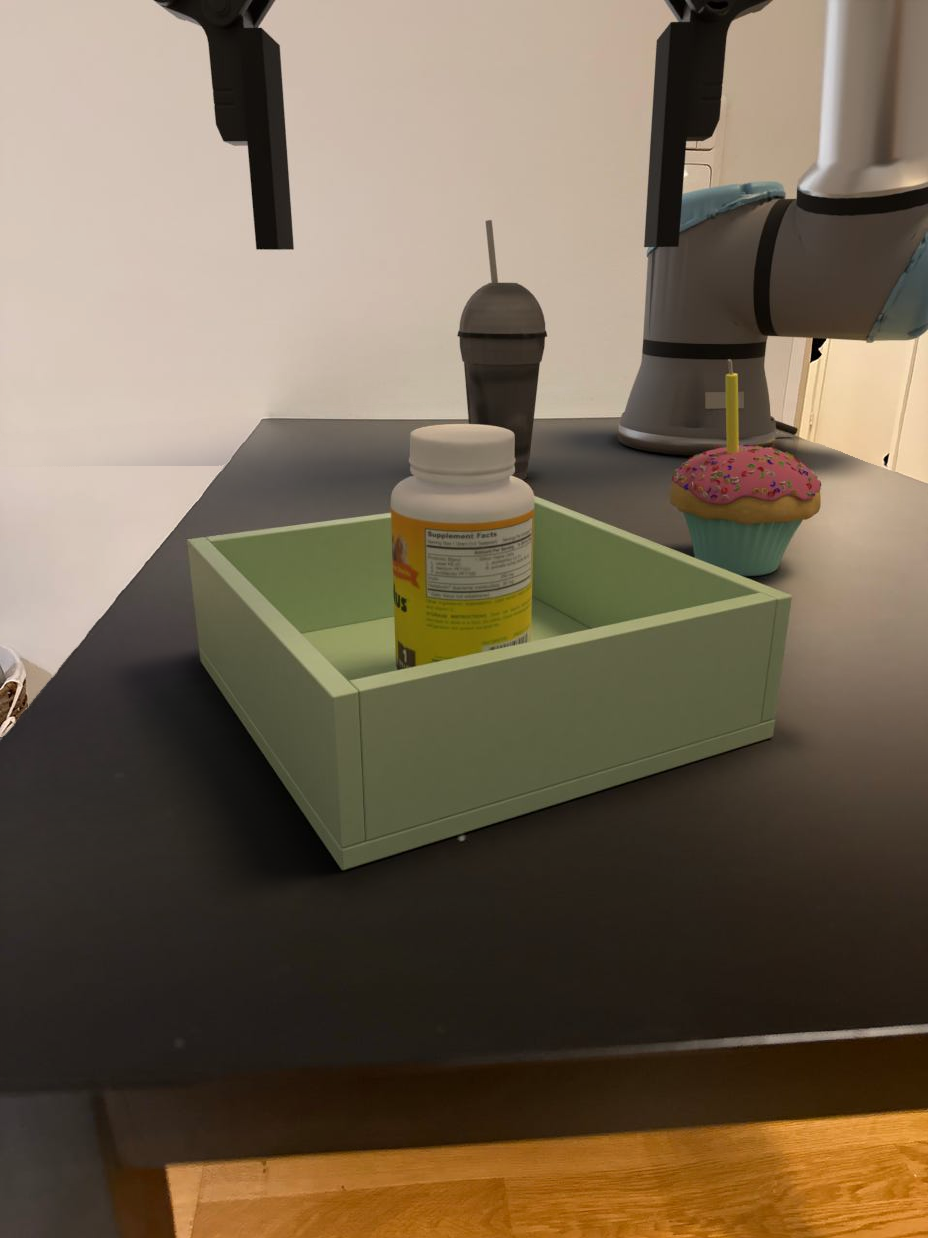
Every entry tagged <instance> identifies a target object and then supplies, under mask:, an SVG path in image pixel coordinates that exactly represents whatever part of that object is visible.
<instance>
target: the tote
mask: <svg viewBox="0 0 928 1238" xmlns="http://www.w3.org/2000/svg"><path fill="white" fill-rule="evenodd" d="M186 545H187V553H188V554H187V555H188V563H189V571H190V572H189V573H190V582H191V589H192V590H191V591H192V598H193V608H194V617H195V625H196V635H197V645H198V646H199V647H198V652H199V661H200V662H201V664H202V666H203V667H204V669H205V670H206V672H207V673H208V675H209V676H210V677H211V679H212V681H213V682H214V684H215V685H216V686H217V688H218V689H219V691H220V692H221V694H222V696H223V697H224V698H225V700H226V702H227V703H228V704H229V706H230V707H231V708H232V711H234V713H235V715H236V716H237V717H238V719H239V721H240V722H241V723H242V725H243V726H244V728H245V729H246V731H247V732H248V734H249V735H250V736H251V738H252V740H253V742H254V743H255V744H256V746H257V747H258V749H259V750H260V752H261V753H262V754H263V756H264V757H265V759H266V761H267V762H268V763H269V765H270V766H271V768H272V769H273V771H274V772H275V773H276V775H277V777H278V778H279V780H280V781H281V782H282V784H283V785H284V787H285V788H286V790H287V791H288V793H289V794H290V796H291V797H292V799H293V800H294V801H295V803H296V805H297V806H298V808H299V809H300V811H301V812H302V813H303V815H304V816H305V818H306V820H307V821H308V823H309V824H310V825H311V827H312V828H313V830H314V831H315V833H316V834H317V835H318V837H319V838H320V840H321V841H322V843H323V845H324V846H325V848H326V849H327V850H328V852H329V854H331V856H332V858H333V859H334V861H335V862H336V864H337V865H338V867H339V869H340V870H342V871H346V870H350V869H353V868H356V867H359V866H362V865H365V864H369V863H372V862H376V861H378V860H379V861H380V860H381V859H385V858H389V857H391V856H395V855H398V854H402V853H404V852H408V851H411V850H414V849H417V848H420V847H423V846H426V845H430V844H433V843H436V842H440V841H443V840H446V839H449V838H453V837H456V836H460V835H462V834H465V833H469V832H472V831H475V830H478V829H481V828H484V827H488V826H491V825H495V824H498V823H501V822H504V821H507V820H511V819H513V818H517V817H520V816H523V815H526V814H529V813H534V812H537V811H539V810H543V809H546V808H549V807H552V806H553V807H554V806H555V805H559V804H562V803H566V802H569V801H572V800H575V799H577V798H581V797H585V796H588V795H591V794H594V793H597V792H601V791H604V790H608V789H611V788H613V787H617V786H619V785H623V784H626V783H630V782H633V781H637V780H639V779H642V778H645V777H646V778H647V777H649V776H652V775H655V774H659V773H662V772H665V771H668V770H672V769H676V768H678V767H682V766H685V765H688V764H691V763H694V762H697V761H700V760H703V759H707V758H710V757H714V756H717V755H720V754H723V753H726V752H730V751H732V750H736V749H739V748H743V747H745V746H748V745H752V744H755V743H758V742H762V741H765V740H768V739H772V738H773V737H774V732H775V725H776V719H775V718H776V717H777V716H776V715H777V709H778V702H779V694H780V688H781V687H780V686H781V682H782V681H781V680H782V672H783V665H784V660H785V659H784V658H785V650H786V644H787V636H788V629H789V621H790V615H791V613H790V612H791V608H792V600H793V599H792V598H793V596H792V594H789V593H786V592H784V591H783V590H782V591H781V590H779V589H776V588H773V587H771V586H769V585H766V584H764V583H761V582H758V581H755V580H753V579H751V578H748V577H746V576H740V575H738V574H735V573H732V572H730V571H727V570H725V569H722V568H720V567H717V566H714V565H712V564H709V563H707V562H704V561H701V560H699V559H696V558H695V556H691V555H689V554H686V553H683V552H681V551H679V550H675V549H673V548H670V547H667V546H665V545H662V544H659V543H657V542H655V541H652V540H650V539H648V538H645V537H642V536H639V535H637V534H634V533H632V532H629V531H627V530H624V529H622V528H619V527H616V526H615V525H610V524H608V523H606V522H604V521H600V520H598V519H595V518H593V517H590V516H588V515H586V514H582V513H580V512H577V511H575V510H572V509H569V508H568V507H566V506H565V507H564V506H562V505H559V504H557V503H555V502H552V501H549V500H546V499H544V498H541V497H539V496H536V495H534V533H533V571H532V608H531V642H527V643H523V644H518V645H513V646H509V647H504V648H499V649H495V650H490V651H485V652H481V653H476V654H471V655H467V656H462V657H457V658H453V659H448V660H443V661H439V662H434V663H429V664H425V665H420V666H415V667H411V668H406V669H401V670H397V668H396V652H395V624H394V595H393V563H392V527H391V512H385V513H378V514H371V515H362V516H356V517H347V518H339V519H333V520H331V519H330V520H324V521H318V522H309V523H301V524H296V525H295V524H294V525H286V526H279V527H270V528H263V529H255V530H248V531H247V530H246V531H241V532H233V533H226V534H225V533H224V534H218V535H217V534H216V535H209V536H205V537H204V536H203V537H195V538H188V539H187V540H186Z"/></svg>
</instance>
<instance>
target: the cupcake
mask: <svg viewBox="0 0 928 1238" xmlns="http://www.w3.org/2000/svg"><path fill="white" fill-rule="evenodd" d="M728 365H729V374H727V375H726V377H725V378H726V436H727V447H725V448H721V447H719V446H716V447H715V449H714V450H710V451H706V452H700V453H699V454H697V455H694V456H690V457H688V460H687V461H685V462H682V463H681V465H680V466H679V467H678V468H677V469H675V470H674V472H673V475H672V477H671V484H670V489H669V502H670V504H671V505H672V506H674V507H675V508H676V509H677V511H679V512H680V513H682V515H683V516H684V519H685V522H686V525H687V528H688V532H689V536H690V540H691V546H692V549H693V555H694V558H696V559H699V560H701V561H704V562H707V563H709V564H712V565H714V566H717V567H720V568H722V569H725V570H727V571H730V572H732V573H735V574H738V575H740V576H743V577H757V576H765V575H768V574H772V573H773V572H775V571H776V570H777V569H778V568H779V566H780V564H781V561H782V558H783V556H784V554H785V552H786V550H787V548H788V546H789V544H790V542H791V540H792V539H793V537H794V535H795V533H796V531H798V528H799V527H800V525H801V524H802V523H803V521H805V520H809V519H811V518H812V517H814V516H815V515H817V514H818V513H819V512H820V510H821V505H822V499H821V498H822V497H821V489H822V481H821V480H819V479H818V475H817V474H816V471H814V470H813V469H809V468H808V467H807V466H806V465H805V464H804V463H803V462H801V461H800V460H799V459H797V457H796V456H795V455H792V454H790V453H789V452H787V451H786V452H784V451H782V450H780V449H779V448H776V447H775V446H774V447H766V448H763V447H761V446H755V447H752V446H751V445H744V444H743V445H741V446H739V440H738V374H736V373H733V370H732V361H731V360H730V359H729V360H728Z"/></svg>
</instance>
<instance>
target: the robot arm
mask: <svg viewBox="0 0 928 1238" xmlns="http://www.w3.org/2000/svg"><path fill="white" fill-rule="evenodd" d="M663 1H664V2H665V4H666V5H667V7H668V9H669V10H670V11H671V13H672V14H673V16H674V17H675V19H676V20H677V21H670V22H669V23H668V25H667V26H666V28H665V29H664V30H663V32H662V33H661V34H660V36H658V38H657V39H656V43H655V44H656V45H655V60H654V61H655V62H654V77H653V79H654V80H653V81H654V82H653V93H652V95H653V96H652V108H651V109H652V110H651V112H652V113H651V127H650V129H651V130H650V144H649V157H648V176H647V177H648V178H647V193H646V208H645V224H644V225H645V226H644V243H643V247H644V248H647V249H646V258H647V267H646V281H645V302H644V316H643V317H644V318H643V335H642V348H641V360H640V366H639V368H638V371H637V374H636V376H635V378H634V381H633V384H632V386H631V390H630V393H629V396H628V399H627V402H626V405H625V409H624V411H623V412H622V413H621V416H620V419H619V422H618V431H617V432H618V434H617V439H618V442H619V443H621V444H623V445H624V446H626V447H628V448H629V447H630V448H633V449H637V450H642V451H646V452H652V453H659V454H666V455H667V454H668V455H676V456H690V457H693V456H694V455H697V454H699V453H700V452H706V451H710V450H714V449H715V447H716V446H719V447H721V448H725V447H727V436H726V378H725V377H726V375H727V374H729V365H728V360H729V359H730V360H731V361H732V370H733V373H736V374H738V440H739V446H741V445H743V444H744V445H751V446H752V447H755V446H761V447H763V448H766V447H775V442H776V434H777V431H782V432H784V433H787V434H789V435H792V436H795V435H797V433H798V427H795V426H793V425H790V424H788V423H784V422H782V421H778V420H776V419H775V417H774V416H772V415H771V402H770V401H771V400H770V393H769V386H768V381H767V376H766V370H765V369H766V368H765V362H766V361H765V359H766V350H767V342H768V337H781V338H805V339H807V338H808V339H827V340H828V339H829V340H846V341H859V342H860V341H862V342H865V343H866V344H867V343H868V344H873V343H874V342H880V341H912V340H915V339H918V338H920V337H921V336H923V335H924V334H925V333H926V332H927V331H928V0H824V17H823V19H824V21H823V37H822V39H823V40H822V41H823V42H822V60H821V80H820V81H821V83H820V103H819V121H818V123H819V125H818V144H817V157H816V158H815V160H814V162H813V163H812V164H811V165H810V166H809V167H808V168H807V169H806V171H804V173H803V174H802V175H801V176H800V177H799V178H798V180H797V183H796V198H786V196H787V193H786V191H785V187H784V185H783V183H781V182H778V181H772V180H771V181H770V180H769V181H750V182H747V183H746V182H745V183H732V184H725V185H717V186H712V187H707V188H701V189H697V190H692V191H688V192H684V179H685V165H686V154H687V153H686V151H687V142H704V141H706V140H708V139H710V138H712V137H713V136H714V133H715V131H716V128H717V126H718V124H719V121H720V120H721V108H722V95H723V84H724V73H725V62H726V49H727V38H728V33H729V29H730V27H731V25H732V23H733V21H735V20H737V19H740V18H743V17H745V16H747V15H750V14H754V13H759V12H761V11H762V10H763V9H765V8H766V7H767V6H769V4H770V3H772V2H774V0H663ZM153 2H155V3H156V4H157V5H159V6H160V7H161V8H163V9H164V10H165V11H167V12H168V13H169V14H171V15H172V16H174V17H175V18H176V19H178V20H181V21H184V22H185V21H186V22H190V23H192V24H195V25H197V26H199V27H201V28H202V29H203V32H204V33H205V36H206V40H207V45H208V56H209V66H210V75H211V86H212V97H213V98H212V99H213V104H214V105H213V110H214V120H215V126H216V128H217V131H218V133H219V135H220V137H221V139H222V142H224V143H227V144H228V145H232V146H233V147H236V146H237V147H238V146H239V147H242V146H243V147H247V153H248V167H249V178H250V192H251V201H252V214H253V215H252V216H253V227H254V238H255V239H254V240H255V250H260V251H261V250H262V251H263V250H269V251H274V250H277V251H280V250H282V251H283V250H285V251H286V250H295V246H294V232H293V230H294V229H293V216H292V204H291V203H292V202H291V188H290V173H289V172H290V171H289V159H288V144H287V131H286V130H287V129H286V115H285V103H284V88H283V87H284V85H283V72H282V58H281V57H282V56H281V45H280V44H279V43H278V41H276V40H275V39H274V38H273V37H272V36H271V35H270V34H269V33H268V32H267V31H266V30H264V28H262V27H260V25H261V24H262V22H263V21H264V19H265V18H266V16H267V14H268V13H269V11H270V10H271V8H272V7H273V6H274V4H275V2H276V0H153Z"/></svg>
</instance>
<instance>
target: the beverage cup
mask: <svg viewBox="0 0 928 1238" xmlns="http://www.w3.org/2000/svg"><path fill="white" fill-rule="evenodd" d="M484 223H485V231H486V232H485V233H486V241H487V252H488V261H489V272H490V281H491V282H488V283H486V284H484V285H483V286H481V287H479V288H478V289H477V290H476V291H475V292H474V293H472V295H471V296H470V297H469V299H468V300H467V301H466V304H465V305H464V307H463V310H462V312H461V316H460V319H459V326H458V327H459V328H458V331H457V335H456V336H457V337H459V350H460V356H461V361H462V362H463V368H464V381H465V392H466V407H467V418H468V424H479V425H490V426H497V427H501V428H505V429H508V430H510V431H512V432H513V433H514V435H515V450H514V457H515V463H514V466H515V472H514V474H513V475H512V476H514V477H516V478H519V479H521V480H523V481H524V480H525V479H527V476H528V468H529V460H530V459H531V458H530V457H531V449H532V439H533V430H534V422H535V410H536V402H537V395H538V393H537V392H538V384H539V377H540V376H539V374H540V366H541V363H542V361H543V356H544V351H545V345H546V338H547V337H548V333H547V330H546V320H545V315H544V311H543V309H542V307H541V304H540V303H539V301H538V299H537V298H536V297H535V296H534V294H533V293H532V292H531V290H529V289H528V288H527V287H525V286H524V285H522V284H519V283H518V282H499V278H498V267H497V261H496V260H497V258H496V248H495V247H496V246H495V239H494V228H493V220H492V219H489V220H485V222H484Z"/></svg>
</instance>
